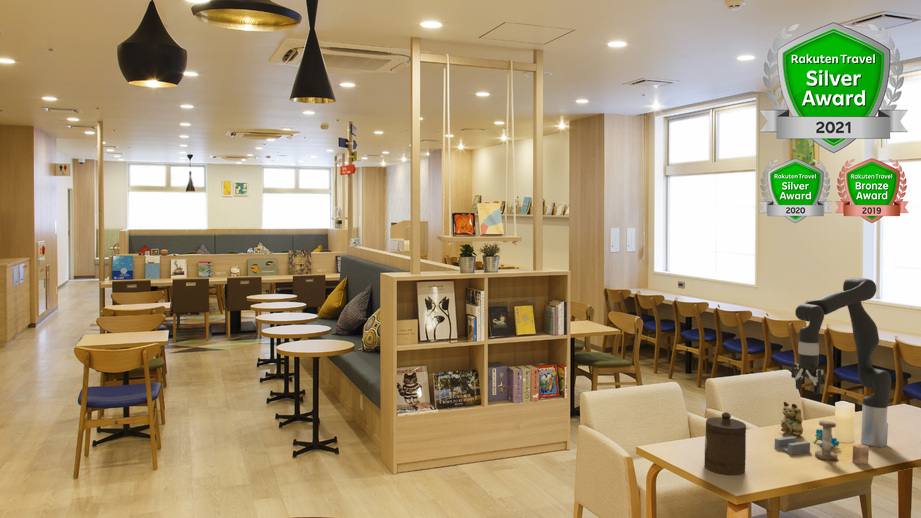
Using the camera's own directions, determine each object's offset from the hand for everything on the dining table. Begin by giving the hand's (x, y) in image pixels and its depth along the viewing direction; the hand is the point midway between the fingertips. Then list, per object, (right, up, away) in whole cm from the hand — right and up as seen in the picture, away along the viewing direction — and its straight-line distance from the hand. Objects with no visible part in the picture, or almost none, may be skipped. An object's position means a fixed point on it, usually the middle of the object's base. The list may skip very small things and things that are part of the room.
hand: (807, 391), depth 267 cm
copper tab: (+18, -28, -6) cm, 34 cm away
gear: (+16, -27, +15) cm, 35 cm away
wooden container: (-40, -28, -13) cm, 50 cm away
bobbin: (+8, -27, 0) cm, 28 cm away
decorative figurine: (+9, -26, +29) cm, 40 cm away
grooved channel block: (-2, -27, +9) cm, 28 cm away
